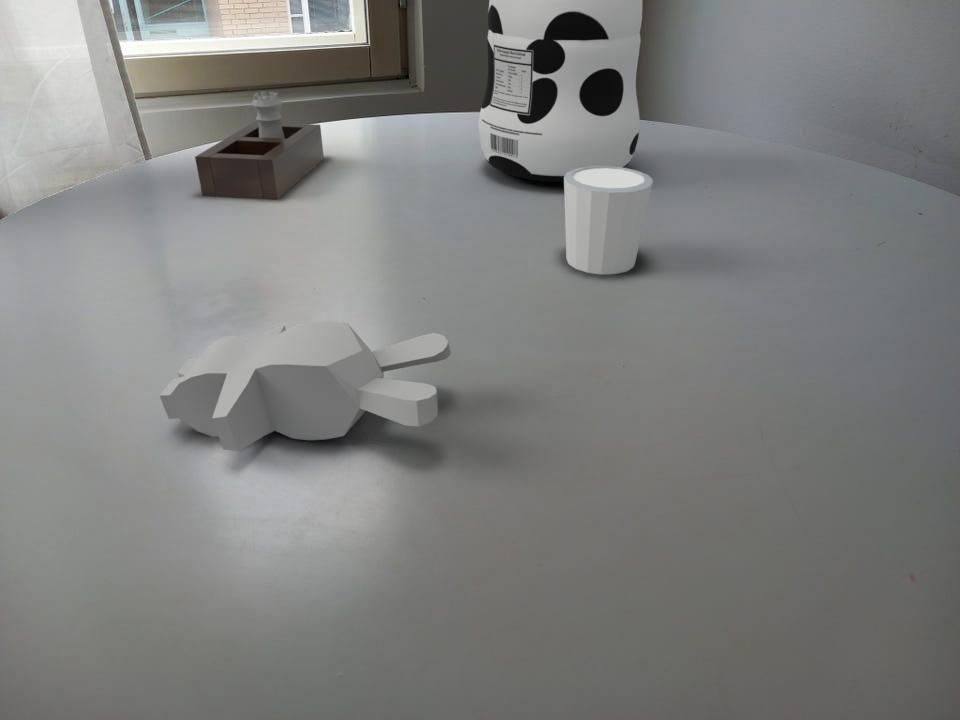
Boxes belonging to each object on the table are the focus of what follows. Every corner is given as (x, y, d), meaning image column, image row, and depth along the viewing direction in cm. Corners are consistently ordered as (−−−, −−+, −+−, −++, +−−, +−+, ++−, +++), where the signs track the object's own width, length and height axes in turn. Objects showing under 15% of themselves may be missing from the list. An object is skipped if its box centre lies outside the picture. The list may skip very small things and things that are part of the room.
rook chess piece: (275, 176, 81) (265, 100, 77) (246, 169, 83) (235, 95, 79) (304, 166, 84) (295, 92, 80) (275, 160, 86) (266, 88, 82)
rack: (202, 196, 75) (194, 156, 73) (258, 156, 87) (253, 122, 85) (277, 199, 74) (272, 159, 72) (324, 159, 86) (320, 124, 84)
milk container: (632, 152, 89) (650, -15, 80) (637, 198, 75) (660, 0, 65) (489, 146, 91) (491, -17, 82) (467, 190, 77) (466, -3, 67)
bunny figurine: (200, 311, 44) (447, 293, 42) (224, 383, 47) (459, 369, 45) (122, 399, 36) (424, 382, 34) (157, 480, 39) (439, 468, 37)
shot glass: (577, 282, 57) (584, 194, 54) (547, 249, 63) (551, 167, 60) (657, 272, 59) (669, 186, 55) (621, 241, 65) (629, 161, 61)
